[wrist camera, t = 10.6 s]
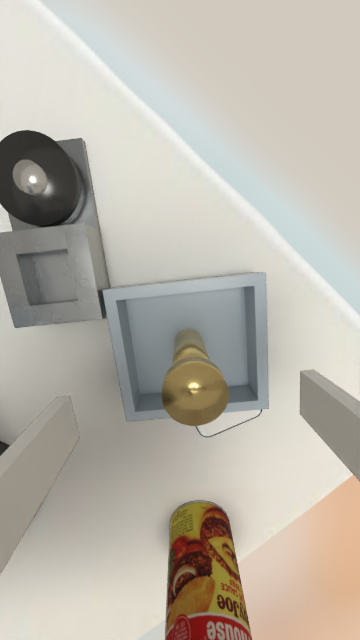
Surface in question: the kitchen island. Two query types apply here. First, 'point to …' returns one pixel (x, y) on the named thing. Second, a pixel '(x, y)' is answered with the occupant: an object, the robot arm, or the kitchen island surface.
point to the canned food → (203, 577)
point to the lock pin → (193, 383)
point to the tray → (195, 313)
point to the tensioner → (50, 232)
